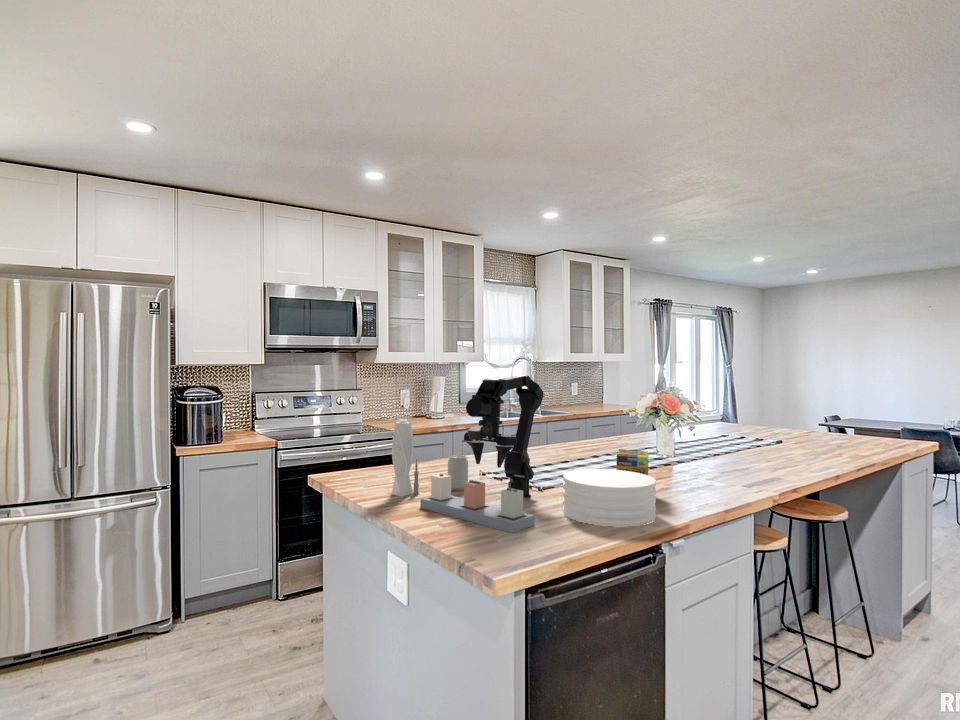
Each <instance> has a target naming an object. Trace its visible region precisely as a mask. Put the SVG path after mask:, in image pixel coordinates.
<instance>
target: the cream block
mask: <svg viewBox="0 0 960 720" xmlns="http://www.w3.org/2000/svg"><path fill="white" fill-rule="evenodd" d="M430 478H431V488H430V489H431V490H430V496H431V498H434V499H438V500H444V499H448V498H451V496H452V490H451V476H449V475H448V474H444V473H439V474H434V475H431V477H430Z"/></svg>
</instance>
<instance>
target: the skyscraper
mask: <svg viewBox="0 0 960 720" xmlns="http://www.w3.org/2000/svg"><path fill="white" fill-rule="evenodd" d="M396 418H397V419H396ZM398 418H400V419H398ZM393 420H394V421H393V422H395V424H394V429H393V434H392V444H391V458H392V465H393V472H394V474H395V475H394V479H393V484H392V485H393V486H392V491H391V496H396V497H400V498H404V499H407V498H410V497H411V498H412V497H414V496H418V495H420V493H419V486H420V484H419V470H418V466H419V464H418V459H417V458H416V459H415V464H414V465H415V466H414V467H415V470H414V472H413V473H414V474H413V475H414V483H413V487H412V483H411V482H412V481H411V478H410V472H411V470H412V469H411V468H412V463H413V459H414V457H413V456H414V445H415V444H414V435H413V434H414V433H413V427H412V423H411V421H412V420H410V419H409V418H407V417H405V416H402V415H401V416H400V415H395V416H393Z"/></svg>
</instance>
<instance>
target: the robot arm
mask: <svg viewBox="0 0 960 720" xmlns="http://www.w3.org/2000/svg"><path fill="white" fill-rule="evenodd" d="M481 381H482V382H481V383H480V385H479V387H478V389H477V391H476V393H475V394H472V395H471V399H469V400H468V401H467V403H466V406H465V410H466V413H467V414H468V415H469V417H472V418H481V419H479V421H478V424H477V425H475V426H473V427H469V429H467V431H466V432H465V433H464V434H463V441H465V443H466V444H468V446H469V447H471V449H472V452H473V456H474V460H475V463H476V464H477V465H480V463H481V460H482V456H483V450H484V446H485V442H490V443H496V444H497V445H495V448H496V449H495V450H497V453H496V454H497V457H496V459H497V460H496V467H497V468H498V469H499V468H501V467H502V465H503V467H504V468H503V469H504V473H505V478H509V481H508V484H507V485H508V486H507V488H513V489H517V490H522V491H523V498H530V497H531V498H532V494H530V481H531V480H533V479H534V476H535V475H534V474H535V473H534V469H533V468H532V467H531V464H530V461H531V459H530V456H529V453H528V447H529V443H530V437H531V432H532V427H533V423H534V417H535V413H536V412H537V411H538V409H539V408H540V407H541V405H542V402H543V399H544V396H545V394H544V391H543V389H542V387H541V386H540V384H539V383H537V382H536V381H534V380H533V379H532V378H531V377H530V375H527V374H515V375H514V376H509V377H504V378H484V379H483V380H481ZM514 389H515V394H517V396H518V403H519V406H520V412H519V418H518V423H517V424H518V425H517V428H516V433H515V436H512V435H502V433H500V425H503V420H501V407H502V406H501V404H502V405H504V404H505V402H504V400H503V398H501V397H503V396H504V395H507V392H508V391H510V390H514ZM503 463H504V464H503Z"/></svg>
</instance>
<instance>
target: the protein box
mask: <svg viewBox="0 0 960 720" xmlns="http://www.w3.org/2000/svg"><path fill="white" fill-rule="evenodd" d="M615 468H616V469H615V470H623V471H630V472H636V473H641V474H645V475H648V476H649V451H648V450H646V451H645V450H635V449H634V450H633V449H621V448H620V449H618V451H617V454H616V467H615Z"/></svg>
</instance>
